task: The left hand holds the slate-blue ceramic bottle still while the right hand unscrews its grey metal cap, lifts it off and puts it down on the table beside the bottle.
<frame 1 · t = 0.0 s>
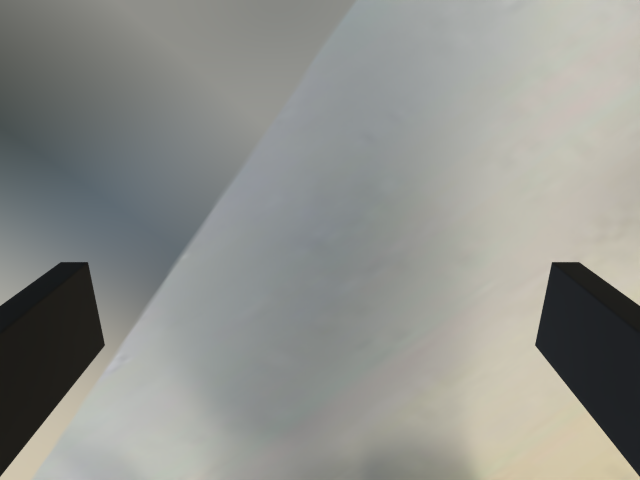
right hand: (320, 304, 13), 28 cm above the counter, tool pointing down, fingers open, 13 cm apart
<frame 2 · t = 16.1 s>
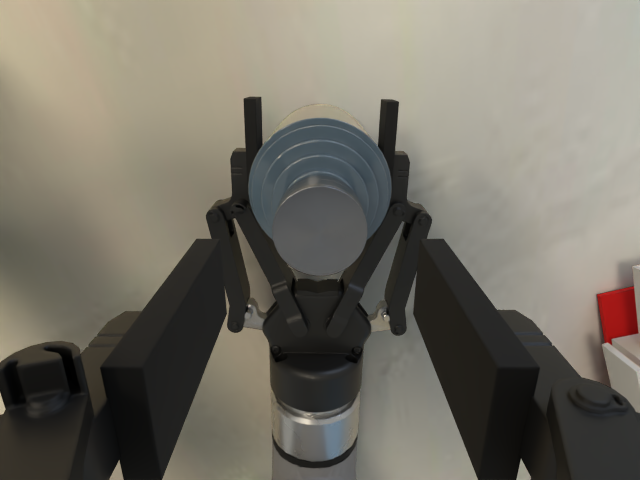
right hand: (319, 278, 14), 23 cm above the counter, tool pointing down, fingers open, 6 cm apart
left hand: (321, 99, 28), fingers closed on bottle, 8 cm apart
cap: (319, 230, 19), point 19 cm above the counter, screwed on, not yet turned
bottle: (319, 155, 36), on the counter, touching left hand
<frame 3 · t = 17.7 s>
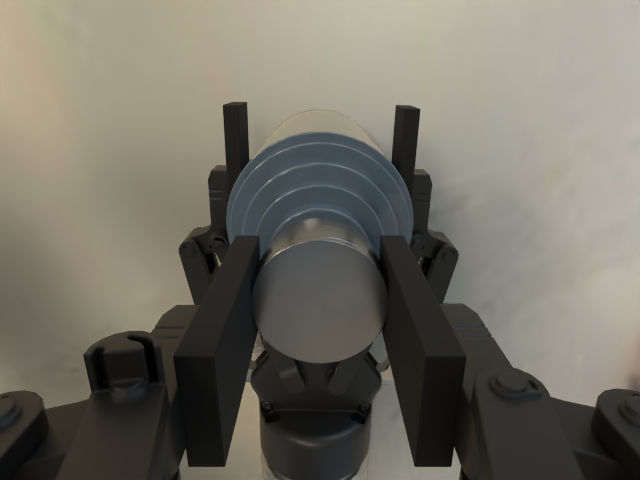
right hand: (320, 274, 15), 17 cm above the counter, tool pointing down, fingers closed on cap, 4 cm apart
left hand: (321, 105, 23), fingers closed on bottle, 8 cm apart
cap: (319, 300, 13), point 19 cm above the counter, screwed on, not yet turned, touching right hand
bottle: (319, 170, 30), on the counter, touching left hand
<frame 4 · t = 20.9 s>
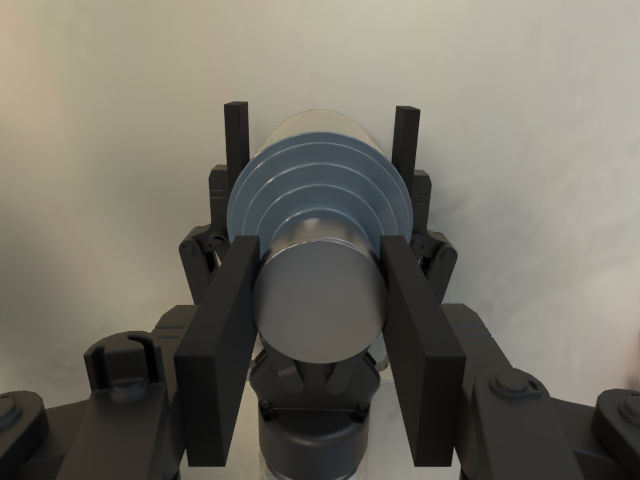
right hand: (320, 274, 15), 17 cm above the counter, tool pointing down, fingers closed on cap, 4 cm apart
left hand: (322, 105, 23), fingers closed on bottle, 8 cm apart
cap: (319, 300, 13), point 19 cm above the counter, turned 102° so far, risen 0.1 cm, still on its thread, touching right hand
bottle: (319, 170, 30), on the counter, touching left hand
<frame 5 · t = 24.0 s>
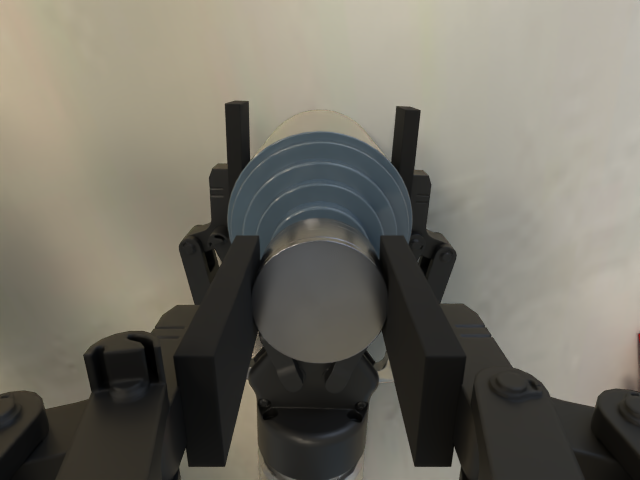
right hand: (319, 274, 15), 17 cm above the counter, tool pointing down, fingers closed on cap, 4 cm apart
left hand: (322, 105, 23), fingers closed on bottle, 8 cm apart
cap: (319, 300, 13), point 19 cm above the counter, turned 204° so far, risen 0.2 cm, still on its thread, touching right hand
bottle: (319, 170, 30), on the counter, touching left hand
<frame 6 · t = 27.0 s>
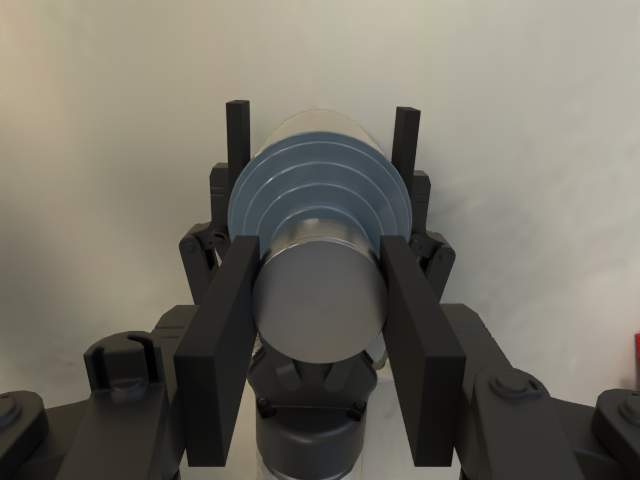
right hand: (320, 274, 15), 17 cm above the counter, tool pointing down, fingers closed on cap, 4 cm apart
left hand: (323, 105, 23), fingers closed on bottle, 8 cm apart
cap: (319, 300, 13), point 19 cm above the counter, turned 305° so far, risen 0.3 cm, still on its thread, touching right hand
bottle: (319, 170, 31), on the counter, touching left hand
when the right hand's fingers open (1 cm above the counter, at t = 33.7 s): cap stays where it is, point 2 cm above the counter.
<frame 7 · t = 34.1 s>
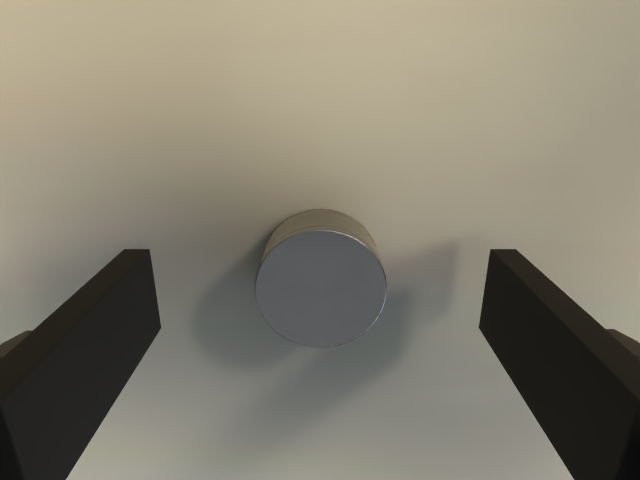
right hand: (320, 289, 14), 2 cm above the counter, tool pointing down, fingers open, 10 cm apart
cap: (320, 287, 14), point 2 cm above the counter, off its thread
when the left hand's fingers open (6 cm above the counter, at t = 35.0 s): bottle stays where it is, on the counter.
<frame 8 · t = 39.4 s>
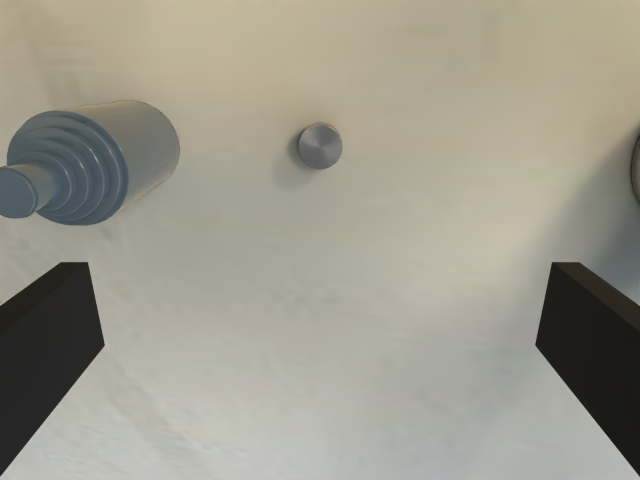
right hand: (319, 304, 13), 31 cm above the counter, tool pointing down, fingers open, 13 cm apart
cap: (320, 146, 40), point 2 cm above the counter, off its thread
bottle: (137, 145, 42), on the counter
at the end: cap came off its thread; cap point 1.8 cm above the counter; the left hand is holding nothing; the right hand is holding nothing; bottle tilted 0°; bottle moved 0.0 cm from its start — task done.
